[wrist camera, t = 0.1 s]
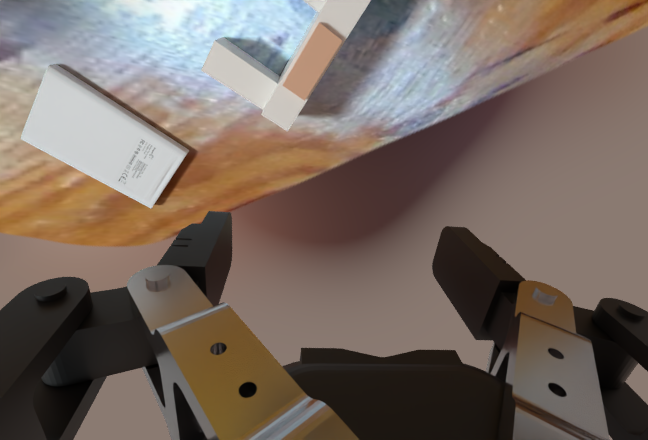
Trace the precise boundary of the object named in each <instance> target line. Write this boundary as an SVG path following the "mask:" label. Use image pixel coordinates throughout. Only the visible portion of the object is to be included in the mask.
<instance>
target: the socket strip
mask: <svg viewBox="0 0 648 440" xmlns="http://www.w3.org/2000/svg"><path fill="white" fill-rule="evenodd" d="M303 1H304V2H305V3H306V4H308V5H309V6H310V7H311V8H313V9H314V10H315V11H316V14H315V16H314V17H313V19H312V21H311V23H310V24H309V26H308V28H307V30H306V31H305V33H304V35H303V37H302V38H301V40H300V42H299V44H298V45H297V47H296V49H295V51H294V52H293V54H292V56H291V58H290V59H289V61H288V63H287V64H286V66H285V68H284V70H283V71H282V73H281V75H280V76H279V75H277V74H276V73H274V72H273V71H271V70H270V69H269V68H267V67H266V66H264V65H263V64H261V63H260V62H259V61H257V60H256V59H254V58H253V57H251V56H250V55H249V54H247V53H246V52H244V51H243V50H241V49H240V48H238V47H237V46H236V45H234V44H233V43H231V42H230V41H228V40H227V39H226V38H224V37H222V38H220V39H218V40H215V41H214V43H213V45H212V48H211V50H210V52H209V54H208V56H207V59H206V61H205V63H204V65H203V67H202V70H201V71H203V72H205V73H206V74H208V75H209V76H211V77H212V78H214V79H215V80H217V81H219V82H220V83H222V84H223V85H225V86H226V87H228V88H229V89H231V90H233V91H234V92H236V93H237V94H239V95H240V96H242V97H244V98H245V99H247V100H248V101H250V102H251V103H253V104H254V105H256V106H258V107H259V108H261V109H262V110H263V111H262V114H261V115H262V116H264V117H266V118H267V119H269V120H270V121H272V122H273V123H275V124H277V125H278V126H280V127H281V128H283V129H284V130H286V131H288V130H289V128H290V127H291V125H292V124H293V122H294V121H295V119H296V117H297V116H298V114H299V113H300V111H301V110H302V108H303V106H304V105H305V103H306V102H307V100H308V99H309V97H310V95H311V94H312V92H313V91H314V89H315V88H316V86H317V84H318V83H319V81H320V80H321V78H322V77H323V75H324V73H325V72H326V70H327V69H328V67H329V65H330V64H331V62H332V61H333V59H334V58H335V56H336V54H337V53H338V51H339V50H340V48H341V47H342V45H343V43H344V42H345V40H346V39H347V37H348V36H349V34H350V32H351V31H352V29H353V28H354V26H355V25H356V23H357V21H358V20H359V18H360V17H361V15H362V14H363V12H364V10H365V9H366V7H367V6H368V4H369V3H370V1H371V0H303Z"/></svg>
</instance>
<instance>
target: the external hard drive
mask: <svg viewBox="0 0 648 440" xmlns="http://www.w3.org/2000/svg"><path fill="white" fill-rule="evenodd" d="M21 139H22V140H23V141H25V142H27V143H29V144H31V145H33V146H34V147H36V148H38V149H40V150H42V151H44V152H46V153H48V154H50V155H52V156H53V157H55V158H57V159H59V160H61V161H63V162H65V163H67V164H68V165H70V166H72V167H74V168H76V169H78V170H80V171H82V172H83V173H85V174H87V175H89V176H91V177H93V178H95V179H97V180H98V181H100V182H102V183H104V184H106V185H108V186H110V187H112V188H113V189H115V190H117V191H119V192H121V193H123V194H125V195H127V196H129V197H130V198H132V199H134V200H136V201H138V202H140V203H142V204H143V205H145V206H147V207H149V208H152V207H153V205H154V204H155V202H156V201H157V199H158V198H159V196H160V195H161V193H162V192H163V190H164V189H165V187H166V185H167V184H168V182H169V181H170V179H171V178H172V176H173V175H174V173H175V172H176V170H177V169H178V167H179V166H180V164H181V163H182V161H183V160H184V158H185V157H186V155H187V153H188V152H189V149H187V148H185V147H184V146H182V145H181V144H179V143H178V142H176V141H174V140H173V139H171V138H170V137H168V136H167V135H165V134H164V133H162V132H161V131H159V130H157V129H156V128H154V127H153V126H151V125H150V124H148V123H147V122H145V121H144V120H142V119H141V118H139V117H137V116H136V115H134V114H133V113H131V112H130V111H128V110H127V109H125V108H124V107H122V106H120V105H119V104H117V103H116V102H114V101H113V100H111V99H110V98H108V97H106V96H105V95H103V94H102V93H100V92H99V91H97V90H96V89H94V88H93V87H91V86H90V85H88V84H86V83H85V82H83V81H82V80H80V79H79V78H77V77H76V76H74V75H72V74H71V73H69V72H68V71H66V70H65V69H63V68H62V67H60V66H59V65H57V64H54V65H50V66H48V68H47V70H46V72H45V74H44V77H43V80H42V83H41V85H40V88H39V90H38V93H37V96H36V98H35V101H34V104H33V106H32V109H31V111H30V114H29V116H28V119H27V121H26V125H25V127H24V129H23V132H22V136H21Z"/></svg>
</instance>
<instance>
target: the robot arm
mask: <svg viewBox="0 0 648 440" xmlns="http://www.w3.org/2000/svg"><path fill="white" fill-rule="evenodd" d="M231 261H232V217H231V213H230V212H215V211H209V212H208V213H207V215H206V217H205V218H204V220H203V222H202V223H201V224H191V225H189V226H187V227H186V228H184V229H182V230H181V231H180V233H179V234H178V236H177V237H176V240H174V241H173V243H172V244H171V246H170V247H169V249H168V250H167V252H166V253H165V254H164V256H163V257H162V259H161V260H160V262H159V263H158V265H157V266H153V267H148V268H146V269H143V270H141V271H139V272H137V273H135V274H134V275H133V276H132V277H131V278H130V279H129V281H128V283H127V287H123V288H118V289H112V290H106V291H99V292H93V293H90V290H89V286H88V283H87V282H86V281H85V280H83V279H80V278H76V277H61V278H54V279H50V280H46V281H42V282H39V283H37V284H34V285H33V286H30V287H28V288H26V289H25V290H24V291H22V292H20V293H19V294H18V295H17V296H16V297H15V298H13V299H12V300H11V301H10V302H9V303H8V304H7V305H6V306H5V307H3V308H2V309H1V310H0V440H73V439H74V437H75V435H76V433H77V431H78V429H79V428H80V426H81V424H82V422H83V420H84V418H85V416H86V415H87V413H88V411H89V409H90V407H91V405H92V403H93V401H94V399H95V397H96V396H97V394H98V392H99V390H100V388H101V386H102V384H103V382H104V381H105V379H106V377H107V376H109V375H113V374H117V373H121V372H125V371H129V370H133V369H137V368H142V369H143V371H144V374H145V376H146V378H147V380H148V383H149V385H150V387H151V389H152V392H153V394H154V396H155V398H156V401H157V403H158V405H159V407H160V410H161V412H162V414H163V416H164V419H165V421H166V424H167V427H168V430H169V434H170V437H171V440H610V439H609V435H610V436H611V438H612V439H613V440H648V405H647V404H646V403H645V402H644V401H643V400H642V399H641V398H640V397H639V396H638V395H637V394H636V393H635V392H634V391H633V390H632V389H631V388H630V387H629V385H628V384H626V382H625V381H626V379H627V378H628V377H629V375H630V374H631V372H632V371H633V370H634V368H635V367H636V365H637V364H638V363H639V364H640V365H641V366H642V367H643V368H644V369H646V370H647V371H648V312H647V311H645V310H643V309H641V308H639V307H637V306H635V305H633V304H630V303H628V302H625V301H621V300H618V299H613V298H604V299H601V300H600V302H599V304H598V305H597V307H596V309H595V310H594V311H592V310H588V309H584V308H579V307H575V306H573V304H572V301H571V300H570V299H569V298H568V297H567V296H566V295H565V294H564V293H562V292H561V291H559V290H558V289H556V288H554V287H552V286H549V285H547V284H544V283H541V282H537V281H529V280H528V281H526V280H525V279H524V278H523V277H522V276H521V275H520V274H519V273H518V272H516V271H515V270H514V269H513V268H512V267H511V266H510V265H509V264H506V261H505V260H504V259H502V258H501V257H499V255H498V254H497V253H496V252H495V251H494V250H493V249H492V248H491V247H489V246H487V245H485V244H484V243H482V242H481V241H480V240H479V239H478V238H477V237H476V236H475V235H474V234H472V233H471V232H470V231H469V230H468V229H467V228H465V227H449V226H447V227H445V228H444V229H443V230H442V232H441V236H440V239H439V242H438V246H437V249H436V253H435V256H434V259H433V265H432V269H433V274H434V277H435V279H436V280H437V282H438V283H439V285H440V286H441V288H442V289H443V291H444V292H445V294H446V295H447V297H448V298H449V300H450V301H451V303H452V304H453V306H454V307H455V309H456V310H457V312H458V314H459V315H460V316H461V318H462V320H463V321H464V322H465V324H466V326H467V327H468V329H469V330H470V332H471V333H472V335H473V336H474V338H475V339H476V340H493V341H494V343H493V346H492V348H491V350H490V354H489V359H488V364H487V368H486V371H483V370H481V369H478V368H476V367H473V366H470V365H467V364H463V363H462V362H461V360H460V358H459V356H458V354H457V353H456V351H455V350H416V351H411V352H407V353H403V354H398V355H394V356H389V357H377V356H372V355H367V354H363V353H358V352H354V351H349V350H345V349H336V348H301V356H300V361H298V362H294V363H291V364H288V365H285V366H281V365H280V364H279V363H278V361H277V360H276V359H275V358H274V357H273V356H272V354H271V353H270V352H269V351H268V350H267V349H266V348H265V346H264V345H263V344H262V343H261V342H260V341H259V339H258V338H257V337H256V336H255V335H254V334H253V333H252V331H251V330H250V329H249V328H248V327H247V325H246V324H245V323H244V322H243V321H242V320H241V319H240V318H239V316H238V315H237V314H236V313H235V312H234V311H233V309H232V308H231V307H230V306H229V305H228V304H226V303H221V304H219V301H220V298H221V295H222V292H223V289H224V285H225V282H226V279H227V276H228V273H229V270H230V267H231Z"/></svg>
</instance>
